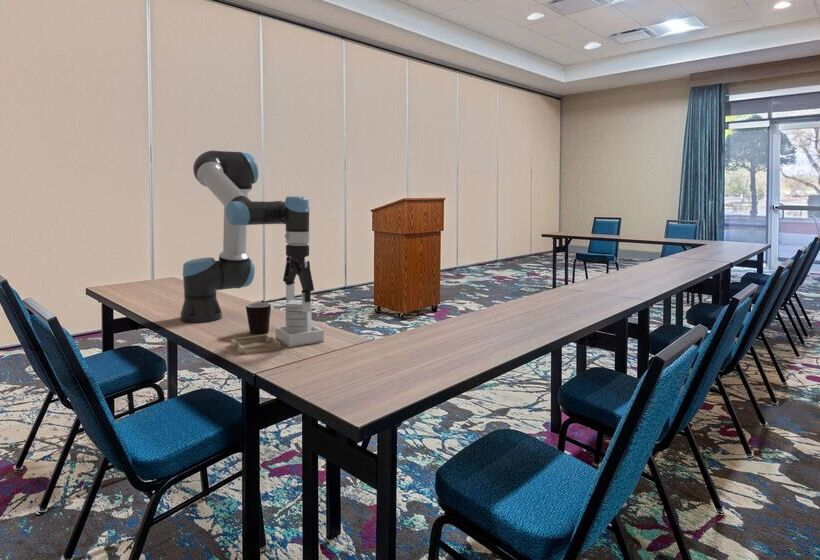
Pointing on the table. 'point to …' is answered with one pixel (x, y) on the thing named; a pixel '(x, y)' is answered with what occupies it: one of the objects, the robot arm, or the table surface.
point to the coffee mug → (258, 317)
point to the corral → (257, 348)
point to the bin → (299, 336)
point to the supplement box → (297, 318)
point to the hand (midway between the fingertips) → (298, 307)
